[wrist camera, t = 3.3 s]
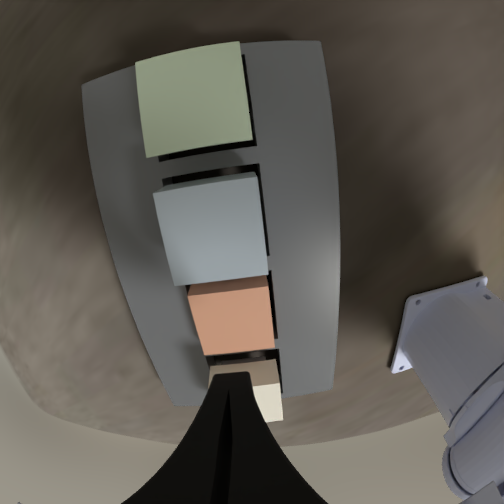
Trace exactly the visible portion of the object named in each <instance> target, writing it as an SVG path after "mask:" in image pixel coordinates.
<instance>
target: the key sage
mask: <svg viewBox="0 0 504 504" xmlns="http://www.w3.org/2000/svg"><path fill="white" fill-rule="evenodd" d="M135 68H136V80H137V90H138V100H139V109H140V117H141V125H142V132H143V139H144V146H145V152H146V158H149V157H154V156H160V155H165V154H170V153H175V152H180V151H185V150H190V149H196V148H201V147H207V146H214V145H220V144H227V143H234V142H241V141H249V140H253V138H252V131H251V123H250V115H249V108H248V100H247V93H246V86H245V78H244V71H243V64H242V57H241V50H240V43H239V41H236V42H228V43H220V44H214V45H207V46H202V47H196V48H191V49H186V50H181V51H177V52H172V53H168V54H164V55H160V56H156V57H152V58H149V59H145V60H142V61H139V62H135Z"/></svg>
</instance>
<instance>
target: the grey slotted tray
mask: <svg viewBox="0 0 504 504" xmlns="http://www.w3.org/2000/svg"><path fill="white" fill-rule="evenodd" d="M240 50H241V57H242V64H243V65H244V70H245V77H246V84H247V91H248V99H249V106H250V114H251V121H252V129H253V137H254V144H255V146H251V147H243V148H235V149H228V150H221V151H215V152H208V153H202V154H197V155H191V156H186V157H180V158H175V159H170V160H169V157H168V154H165V155H160V156H154V157H149V158H146V152H145V146H144V139H143V132H142V125H141V117H140V109H139V100H138V90H137V80H136V68H135V65H134V66H131V67H128V68H125V69H122V70H119V71H116V72H113V73H110V74H107V75H105V76H102V77H99V78H97V79H94V80H92V81H89V82H87V83H85V84H82V85H81V86H82V101H83V112H84V122H85V131H86V138H87V146H88V152H89V158H90V164H91V170H92V176H93V181H94V186H95V191H96V195H97V200H98V204H99V209H100V213H101V217H102V221H103V225H104V229H105V232H106V236H107V240H108V243H109V247H110V250H111V254H112V257H113V260H114V264H115V267H116V270H117V273H118V276H119V279H120V282H121V285H122V288H123V291H124V294H125V296H126V299H127V302H128V305H129V307H130V310H131V313H132V315H133V318H134V320H135V323H136V325H137V328H138V330H139V333H140V335H141V338H142V340H143V342H144V345H145V347H146V349H147V351H148V354H149V356H150V358H151V360H152V362H153V365H154V367H155V369H156V371H157V373H158V375H159V377H160V379H161V381H162V383H163V385H164V387H165V389H166V391H167V393H168V395H169V397H170V399H171V401H172V403H173V405H174V406H201V405H202V403H203V400H204V398H205V396H206V394H207V391H208V385H209V374H210V366H216V364H215V361H214V357H213V356H218V355H229V354H239V353H248V352H256V351H264V350H271V349H277V350H278V361H279V372H280V374H278V376H279V382H280V391H281V398H287V397H294V396H300V395H305V394H311V393H316V392H321V391H326V390H331V389H332V388H333V379H334V369H335V359H336V347H337V334H338V317H339V295H340V210H339V188H338V171H337V158H336V146H335V135H334V126H333V117H332V109H331V101H330V94H329V87H328V80H327V74H326V68H325V62H324V56H323V51H322V45H321V41H266V42H252V43H241V44H240ZM249 164H257V168H258V176H259V185H260V193H261V201H262V210H263V218H264V227H265V236H266V242H265V246H266V255H267V264H268V271H269V272H270V281H271V291H272V300H273V310H274V320H272V325H273V334H274V344H275V348H268V349H261V350H253V351H244V352H235V353H225V354H213V355H204V352H203V349H202V345H201V342H200V339H199V336H198V332H197V329H196V325H195V322H194V318H193V315H192V311H191V308H190V304H189V300H188V297H187V296H188V292H189V289H190V286H191V284H189V285H181V286H174V282H173V278H172V275H171V271H170V267H169V263H168V259H167V255H166V251H165V247H164V243H163V239H162V234H161V230H160V225H159V221H158V216H157V212H156V207H155V202H154V197H153V193H154V192H156V191H158V190H159V189H161V188H162V187H164V186H166V185H171V184H173V181H172V177H173V176H178V175H184V174H189V173H195V172H201V171H207V170H213V169H220V168H227V167H234V166H241V165H249Z"/></svg>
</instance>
